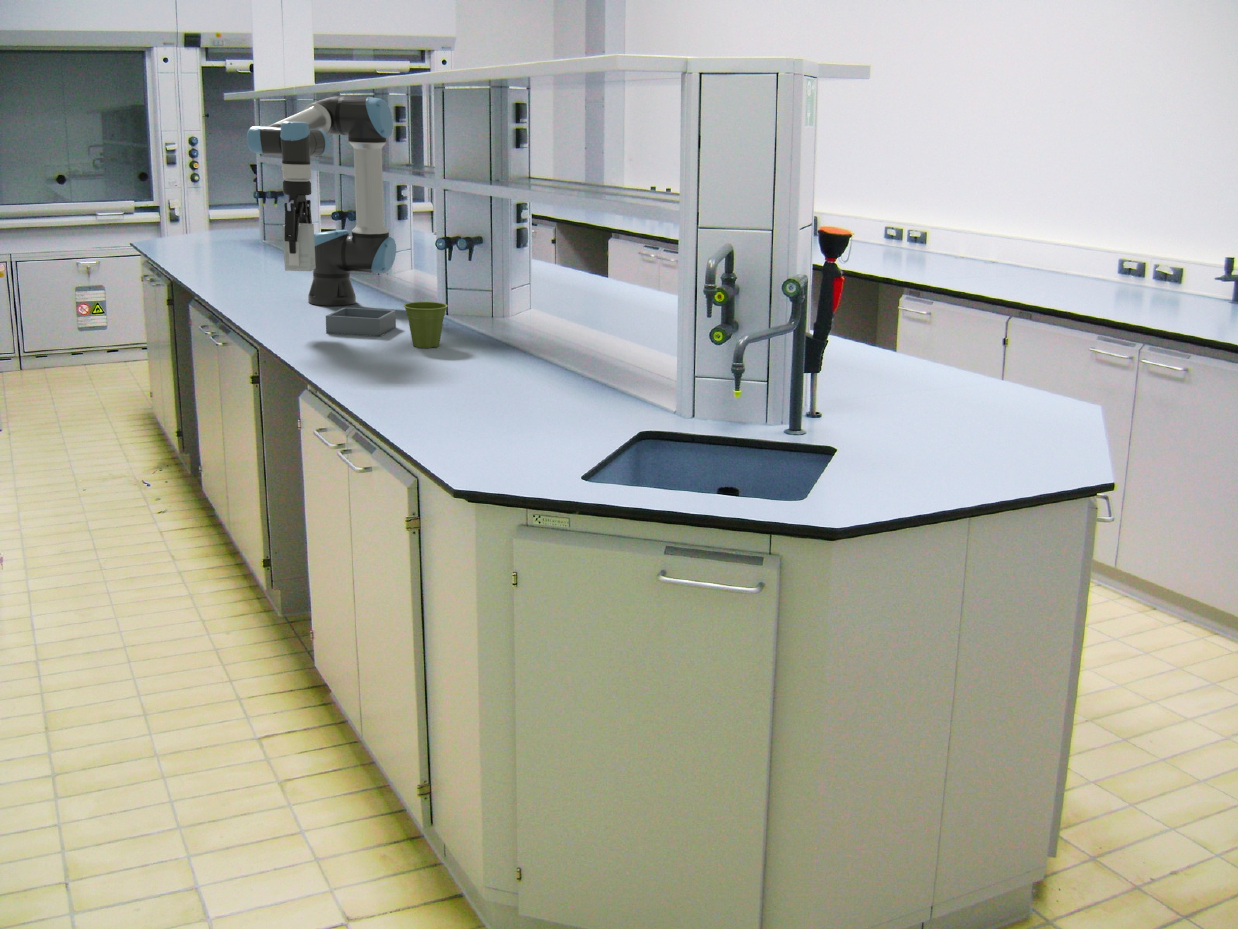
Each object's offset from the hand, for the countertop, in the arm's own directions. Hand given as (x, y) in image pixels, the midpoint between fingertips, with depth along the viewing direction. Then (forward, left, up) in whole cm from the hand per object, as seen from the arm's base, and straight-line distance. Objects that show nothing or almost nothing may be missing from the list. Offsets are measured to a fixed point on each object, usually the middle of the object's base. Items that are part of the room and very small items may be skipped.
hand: (300, 263), depth 329 cm
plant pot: (+11, +39, -19) cm, 45 cm away
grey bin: (-6, +15, -19) cm, 25 cm away
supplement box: (0, 0, -2) cm, 2 cm away
